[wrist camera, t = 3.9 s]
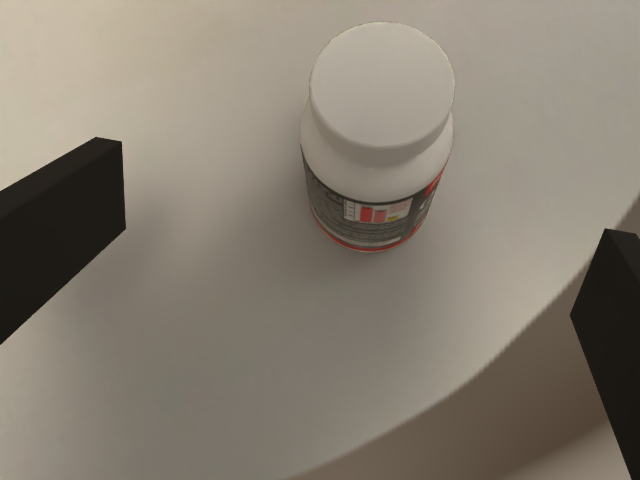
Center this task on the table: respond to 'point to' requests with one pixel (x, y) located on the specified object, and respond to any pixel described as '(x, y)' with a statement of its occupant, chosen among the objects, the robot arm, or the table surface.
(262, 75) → the table surface
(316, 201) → the pill bottle
